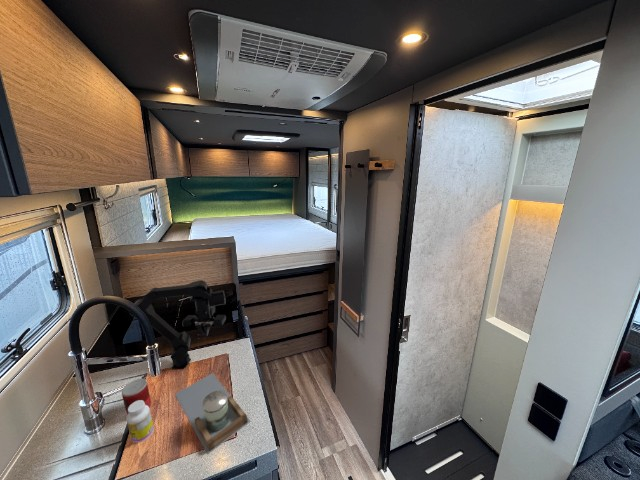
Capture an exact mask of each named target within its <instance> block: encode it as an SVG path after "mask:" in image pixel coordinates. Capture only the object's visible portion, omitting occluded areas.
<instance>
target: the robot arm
mask: <svg viewBox="0 0 640 480" xmlns="http://www.w3.org/2000/svg"><path fill="white" fill-rule="evenodd" d="M181 296H186V297H187V296H188V297H190V299H189V302H194V305H195V314H188V315H187V316H186V317H184V319H182V324H181V325H182V327H190V326H191V324H192V323H194V324H195V326H194V328H196V329H198V330H199V331H200V332H201V334H203V335H204V336H205V337H208V335H209V331H210V328H211V327H212V326H215V327H222V326H223V325H224V324H225V322H226V321H227V316H226V315H225V314H217V315H216V316H215V317H214V314H215V313H216V307H217V306H222V305H226V294H225V290H224V289H222V290H217V291H213V289H212V288H211V287H209V285H208V284H207V282H206V281H205V280H201V279H199V280H196V281H192V282H190V283H188V284H183V285H182V284H181V285H173V286H164V287H152V288H151V289H150V290H149V291H148V292H147V293H146V294H145V295H144V296H143V297H142V298H140V299H137V300H136V301H135V302H134V303H133V305H134V304H135V305H137V306H138V307H139V308H140V309H141V310H142V311H143V312H144V313H145V314H146V316H147V317H148V319H149V320H150V322H151V324H152V326H151V327H152V328H153V329H154V330H155V331H156V332H157V333H159V334H161V336H162V337H164V338H165V339H166V340H167V341H168V342H169V344H170V346H171V348H172V352H171V354H170V359H171V361H172V366H171V370H182V369H183V370H184V369H186V368H187V366H188V365H189V363H190V362H191V360H192V358H191V357H190V354H189V349H190V345H191V337H190V336H191V335H190V334H187V332H186V331H185V330H184V331H182V332H179V331H177V330H176V329H175V328H173V326H171V325H170V324H169V323H167V321H166V320H164V319H163V318H162V317H161V316H160V315H159V314H158V313H156V311H155V309H154V306H153V305H152V303H153V302H154V301H155V300H156V299H166V298H173V297H181ZM129 315H131V316H130V317H133V318H135V319H136V317H135V316H134V315H133V314H131V313H130V312H129Z"/></svg>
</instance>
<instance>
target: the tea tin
mask: <svg viewBox="0 0 640 480" xmlns="http://www.w3.org/2000/svg"><path fill="white" fill-rule="evenodd" d="M203 409H204V414H205V421H206V427H207V429H208V430H209V431H210V432H217V431H220V430H222V429H223V428H224V427H225V426H226V425H227V424H228V422H229V411H228V402H227V394H226V393H225V392H224V391H221V390H218V391H214V392H212V393H210V394H208V395H207V396H206V397H205V399H204V400H203Z"/></svg>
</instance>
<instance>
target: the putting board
mask: <svg viewBox="0 0 640 480" xmlns="http://www.w3.org/2000/svg"><path fill="white" fill-rule="evenodd" d="M218 390H221V391H224V392H225V393H226V394H227V398H228V397H230V396H231V395H230V393H229V392H228V391H227V389H226V388H225V387H224V386H223V384H222V383H221V382H220V380H219V379H218V378H217V377H216V375H215V374H214V373H213V372H212V373H210V374H209V375H207V376H204V377H203V378H201V379H199V380H197V381H195V382H194V383H192V384H190V385H188V386H186V387H185V388H182V390H179V391H178V392H175V393H174V396H175V397H176V399H177V401H178V403H179V405H180V407H181V408H182V410H183V412H184V415H185V416H186V418H187V419H188V422H189V423H190V426H191V427H192V429H193V431H194V433H195V435H196V436H197V438H198V440H199V443H201V446H202V447H203V449H204V450H205V451H204V452H205V453H206V455H209V454H210V453H212V452H213V451H214V450H216V449H217V448H218V447H220V446H221V445H222V444H223V443H225V442H226V441H228V440H229V439H230V438H231V437H232V436H233V435H235V434H236V433H238V432H240V431H241V430H242V429H243V428H245V427H246V426H247V425H249V424H250V423H251V422H252V421H251V419H249V417H248V416H247V420H248V422H247V423H246V424H245V425H244V426H242V427H241V428H240V429H238V430H237V431H236V432H234V433H233V434H232V435H230V436H229V437H228V438H227V439H225V440H224V441H223V442H221V443H220V444H219V445H217V446H216V447H215V448H213V449H212V450H211V451H210V450H209V449H208V447H207V445H206V443H205V441H204V440H203V438H202V436H201V434H200V433H199V431H198V429H197V427H196V425H195V419H196V418H197V417H199V418H200V419H201V421H202V423H203V424H204V426H205V428H206V429H207V427H206V421H205V414H204V409H203V400H204V399H205V397H206V396H207V395H208V394H210V393H212V392H214V391H218ZM227 402H228V399H227ZM228 411H229V422H228V424H227V425H226V426H225V427H224V428H226V427H227V426H228V425H230V424H231V423H232V422H234V421H235V420H237V419H238V416H237V415H236V414H235V412H234V411H233V410H232V408H231V407H230V406H229V404H228ZM224 428H223V429H224ZM223 429H222V430H223ZM222 430H220V431H222ZM207 431H208V433H209V434H210V436H211V438H212V437H213V436H215V435H216V434H217V433H219V432H220V431H217V432H210V431H209V430H208V429H207Z"/></svg>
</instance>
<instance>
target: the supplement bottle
mask: <svg viewBox="0 0 640 480" xmlns="http://www.w3.org/2000/svg"><path fill="white" fill-rule="evenodd" d="M150 410H151V409H150V408H149V407H148V406H147V405H145V403H144V401H143V400H138V401H136V402H134V403H132V404H131V405H130V406H129V408H128V415H127V414H126V418H125V419H126V423H127V428H128V431H129V434H130V435H129V436H130V439H131V441H132V442H133V443H135V444H136V443H137V444H138V443H142V442H144V441H145V440H147V439H148V438H149V437H151V436H152V434H153V432H154V428H155V426H154V423H153V418H152V413H151V411H150Z"/></svg>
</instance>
